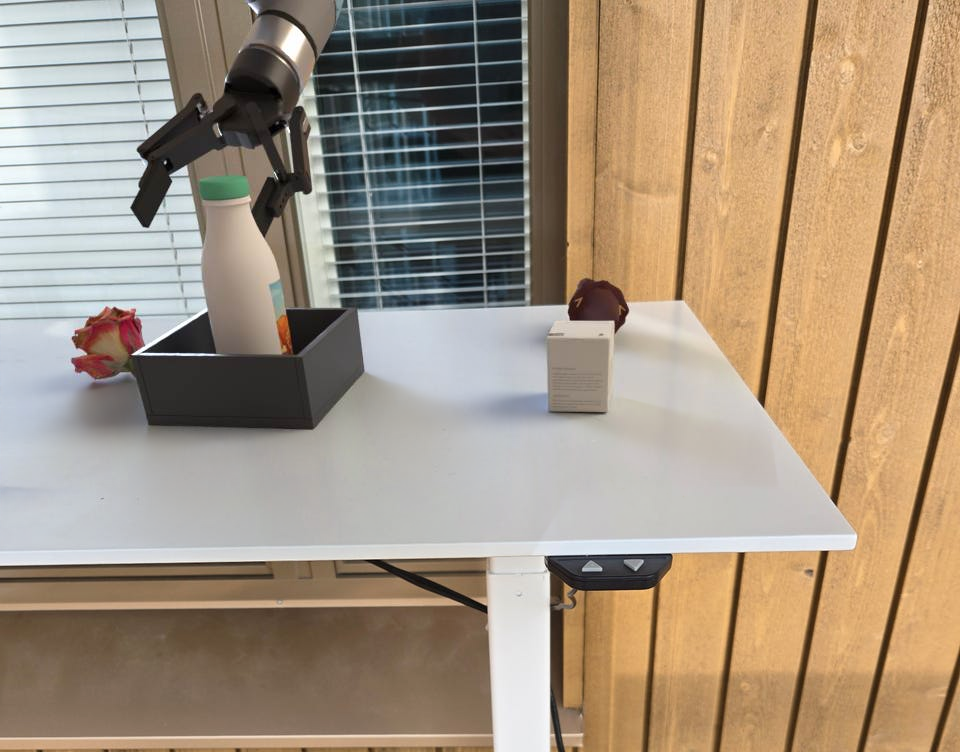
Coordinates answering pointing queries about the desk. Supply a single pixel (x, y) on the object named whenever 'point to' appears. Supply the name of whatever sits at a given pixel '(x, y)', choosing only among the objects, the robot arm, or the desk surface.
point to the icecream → (598, 303)
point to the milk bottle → (240, 274)
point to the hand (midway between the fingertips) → (194, 227)
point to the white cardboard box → (580, 366)
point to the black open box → (251, 374)
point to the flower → (108, 343)
